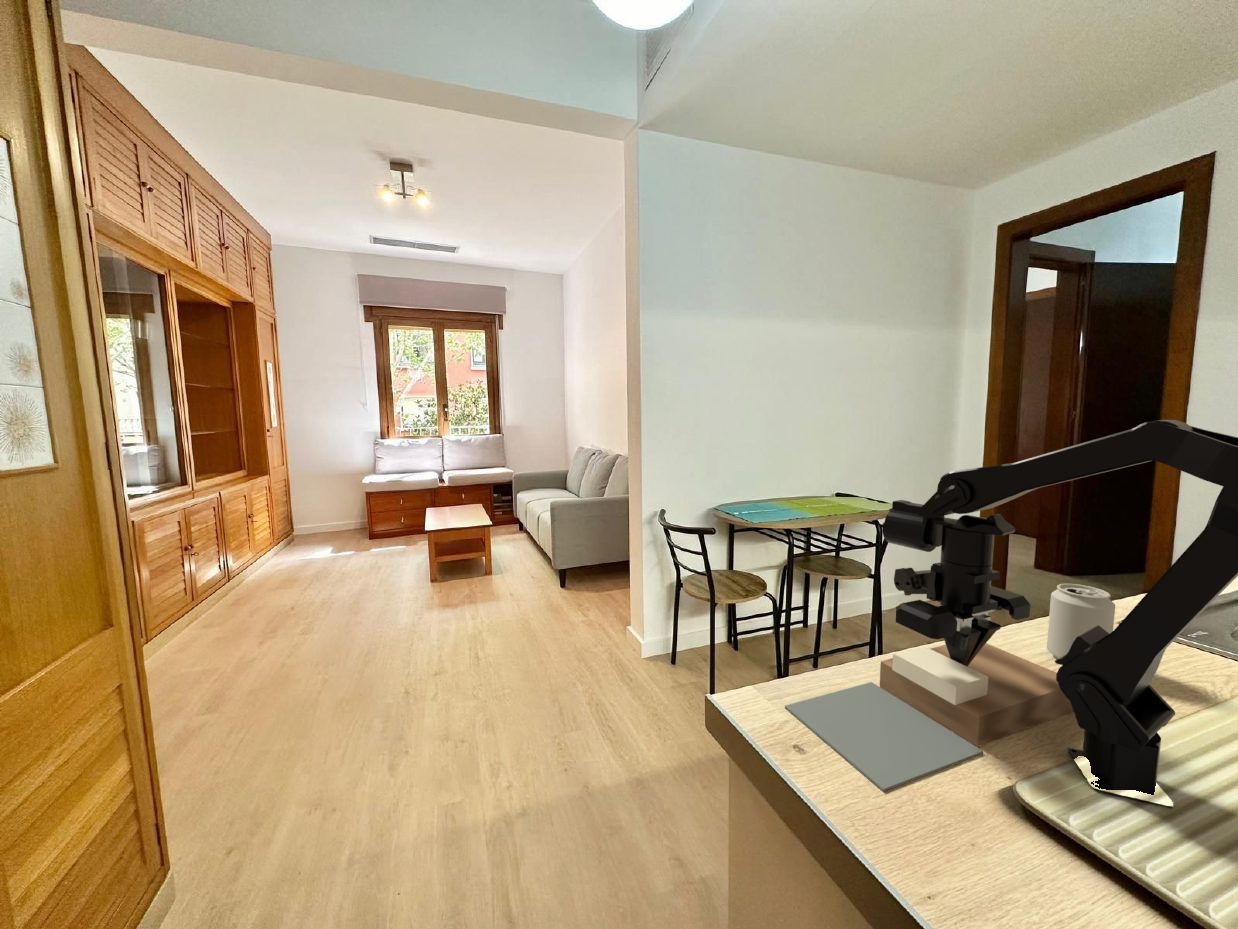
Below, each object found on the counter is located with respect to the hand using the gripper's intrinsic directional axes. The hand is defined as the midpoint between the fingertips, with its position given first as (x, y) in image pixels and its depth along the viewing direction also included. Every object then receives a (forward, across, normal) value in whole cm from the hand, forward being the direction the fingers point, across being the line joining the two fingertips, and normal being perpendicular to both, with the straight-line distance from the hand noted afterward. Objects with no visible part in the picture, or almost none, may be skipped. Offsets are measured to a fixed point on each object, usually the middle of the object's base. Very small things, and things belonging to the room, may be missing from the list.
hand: (959, 669), depth 67 cm
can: (+5, -29, -1) cm, 30 cm away
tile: (0, +4, 0) cm, 4 cm away
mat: (+5, +15, 0) cm, 16 cm away
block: (+5, -3, 0) cm, 6 cm away
